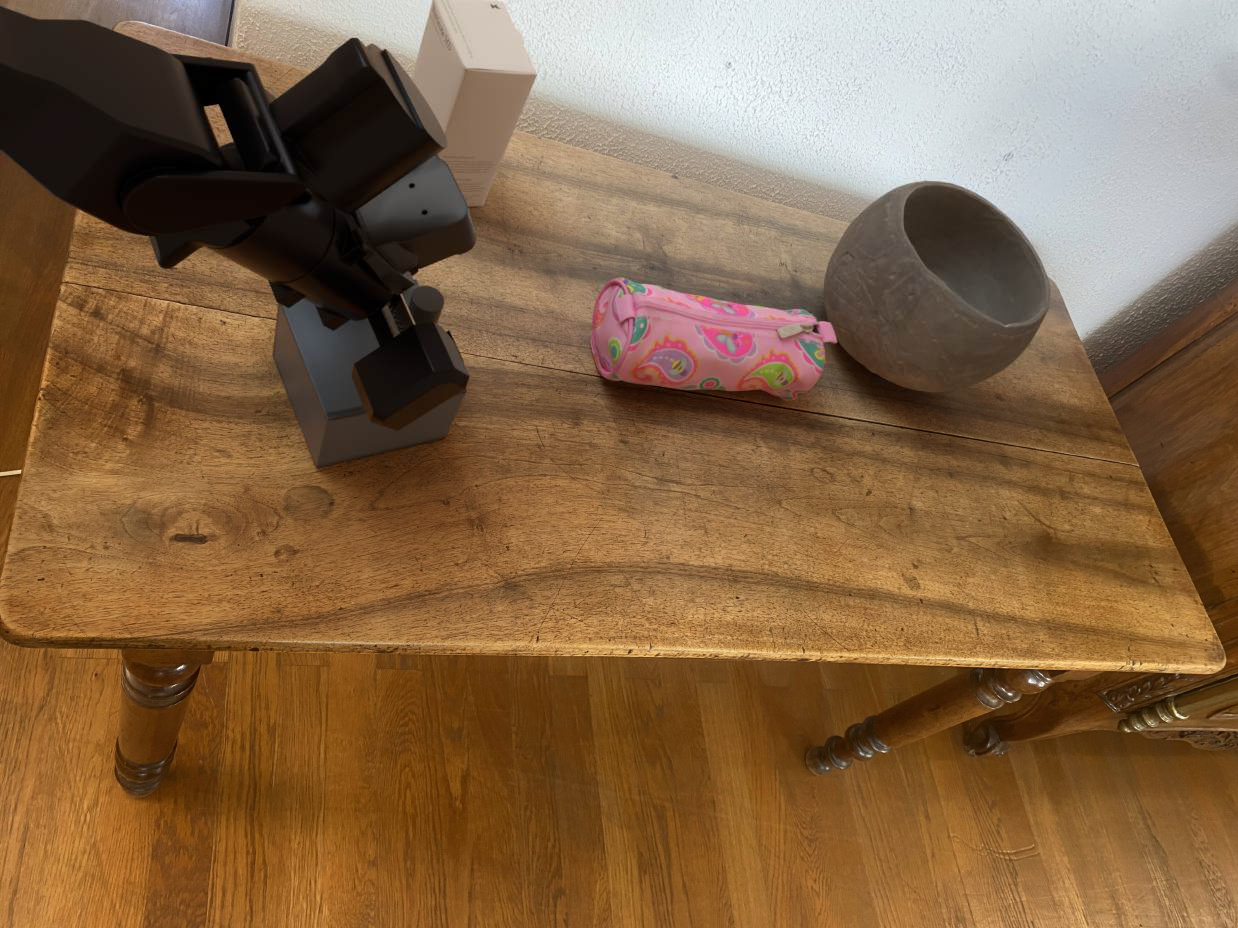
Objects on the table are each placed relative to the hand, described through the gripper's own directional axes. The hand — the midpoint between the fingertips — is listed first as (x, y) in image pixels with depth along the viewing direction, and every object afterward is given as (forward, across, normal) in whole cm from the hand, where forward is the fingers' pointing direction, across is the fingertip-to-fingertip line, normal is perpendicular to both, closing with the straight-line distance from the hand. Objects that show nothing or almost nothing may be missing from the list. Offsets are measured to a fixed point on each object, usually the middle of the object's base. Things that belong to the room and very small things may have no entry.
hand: (436, 324), depth 62 cm
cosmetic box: (+14, +21, -2) cm, 25 cm away
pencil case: (+24, -4, -12) cm, 27 cm away
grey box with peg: (-5, 0, +8) cm, 10 cm away
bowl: (+42, -5, -30) cm, 52 cm away
